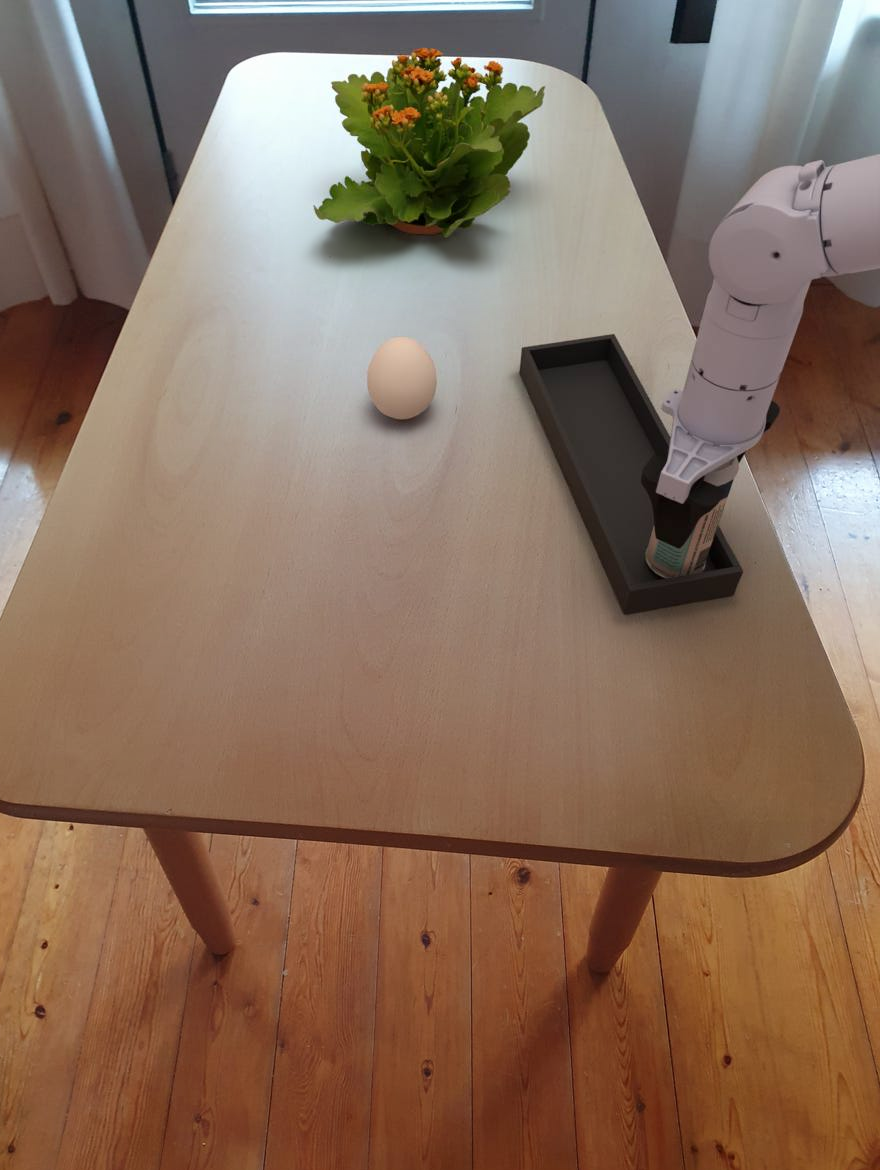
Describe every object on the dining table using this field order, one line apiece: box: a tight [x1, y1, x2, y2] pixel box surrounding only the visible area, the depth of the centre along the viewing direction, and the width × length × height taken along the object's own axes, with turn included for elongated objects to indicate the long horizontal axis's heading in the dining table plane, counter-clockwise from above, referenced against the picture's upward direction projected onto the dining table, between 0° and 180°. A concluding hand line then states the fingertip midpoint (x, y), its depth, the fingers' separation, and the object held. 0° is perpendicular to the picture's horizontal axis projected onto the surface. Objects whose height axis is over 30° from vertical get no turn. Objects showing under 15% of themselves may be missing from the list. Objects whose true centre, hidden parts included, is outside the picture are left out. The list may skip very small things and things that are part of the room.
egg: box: [366, 336, 438, 421], centre depth 89 cm, size 6×6×8 cm
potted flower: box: [312, 47, 546, 239], centre depth 106 cm, size 25×24×18 cm
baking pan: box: [518, 333, 744, 616], centre depth 85 cm, size 31×9×3 cm, turn 11°
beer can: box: [646, 456, 740, 579], centre depth 75 cm, size 5×5×12 cm
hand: (691, 509), depth 74 cm, fingers open, 7 cm apart
